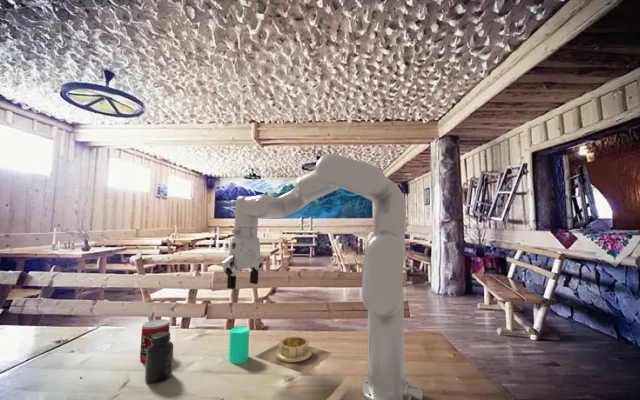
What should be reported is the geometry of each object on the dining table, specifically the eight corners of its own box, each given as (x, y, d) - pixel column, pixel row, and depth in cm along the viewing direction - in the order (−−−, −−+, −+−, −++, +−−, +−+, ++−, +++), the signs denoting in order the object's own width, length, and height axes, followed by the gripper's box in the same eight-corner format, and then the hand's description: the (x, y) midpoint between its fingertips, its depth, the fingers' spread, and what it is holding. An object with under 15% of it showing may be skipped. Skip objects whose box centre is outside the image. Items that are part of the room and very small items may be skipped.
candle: (242, 369, 84) (244, 328, 85) (224, 367, 85) (226, 327, 86) (251, 360, 90) (252, 322, 91) (234, 358, 91) (236, 321, 92)
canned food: (134, 359, 90) (137, 324, 91) (158, 350, 97) (160, 317, 98) (148, 365, 86) (151, 328, 87) (172, 355, 93) (174, 321, 94)
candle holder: (318, 352, 93) (318, 339, 93) (297, 367, 83) (298, 353, 83) (290, 344, 99) (290, 332, 100) (267, 357, 89) (268, 344, 89)
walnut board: (331, 357, 92) (332, 352, 93) (305, 379, 79) (305, 373, 79) (285, 344, 103) (285, 339, 103) (254, 361, 89) (254, 356, 89)
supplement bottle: (166, 369, 84) (168, 328, 85) (176, 377, 79) (178, 333, 81) (140, 378, 78) (143, 334, 80) (149, 387, 74) (153, 341, 75)
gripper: (232, 233, 82) (229, 292, 81) (271, 233, 97) (269, 283, 95) (216, 233, 86) (213, 288, 85) (256, 232, 101) (253, 280, 99)
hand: (243, 285), depth 90 cm, fingers open, 9 cm apart
